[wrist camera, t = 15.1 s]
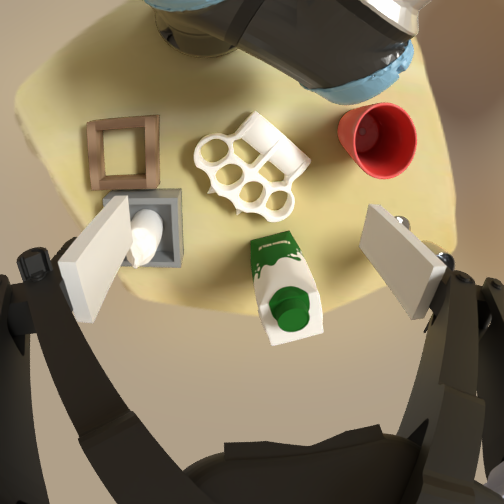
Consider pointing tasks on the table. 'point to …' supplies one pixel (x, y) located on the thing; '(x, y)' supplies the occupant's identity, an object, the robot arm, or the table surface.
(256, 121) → the white brass knuckles
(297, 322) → the milk carton
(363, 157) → the flower pot
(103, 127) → the holder
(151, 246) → the white tall rounded piece
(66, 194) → the table surface
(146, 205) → the tray
